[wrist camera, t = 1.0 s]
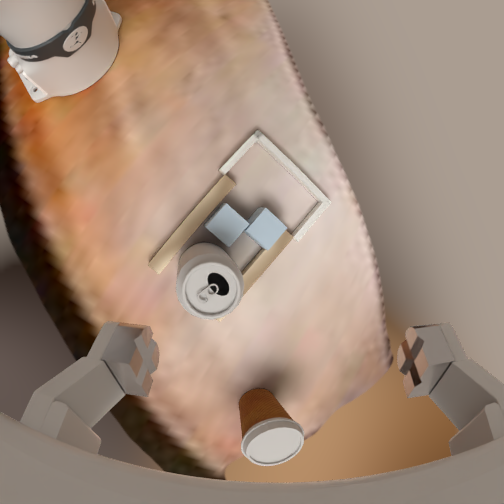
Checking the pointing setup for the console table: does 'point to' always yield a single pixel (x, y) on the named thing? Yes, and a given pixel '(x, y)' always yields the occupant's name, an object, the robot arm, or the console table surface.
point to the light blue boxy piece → (226, 224)
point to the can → (208, 281)
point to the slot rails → (195, 221)
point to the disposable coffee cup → (267, 429)
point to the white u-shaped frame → (293, 170)
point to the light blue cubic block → (264, 228)
